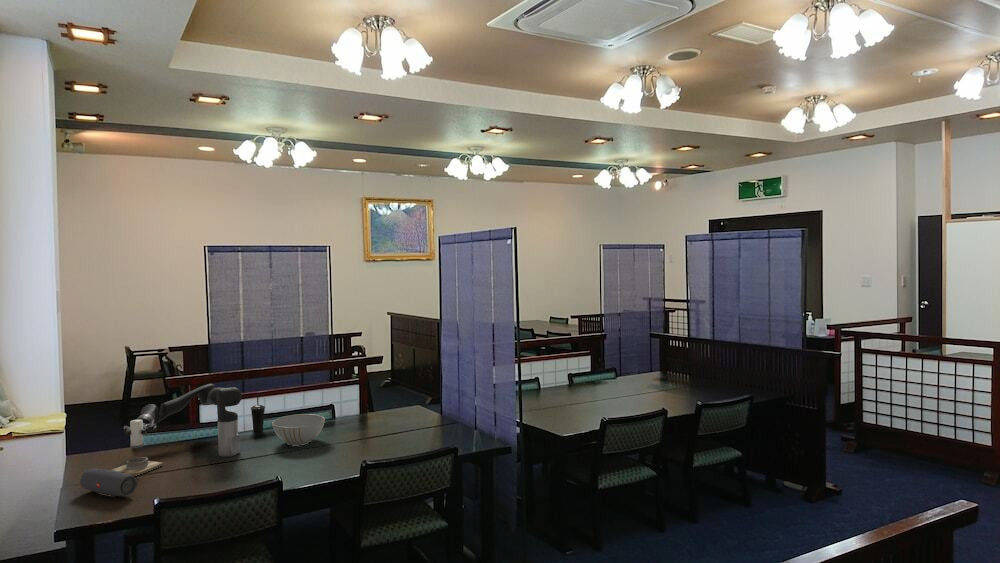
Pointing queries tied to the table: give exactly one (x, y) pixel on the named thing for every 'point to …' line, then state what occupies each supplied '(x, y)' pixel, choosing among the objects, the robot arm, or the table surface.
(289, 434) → the decorative bowl
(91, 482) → the bluetooth speaker
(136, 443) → the duct sleeve
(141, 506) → the table surface
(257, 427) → the drinking cup
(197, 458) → the table surface
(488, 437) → the table surface
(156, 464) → the duct base
